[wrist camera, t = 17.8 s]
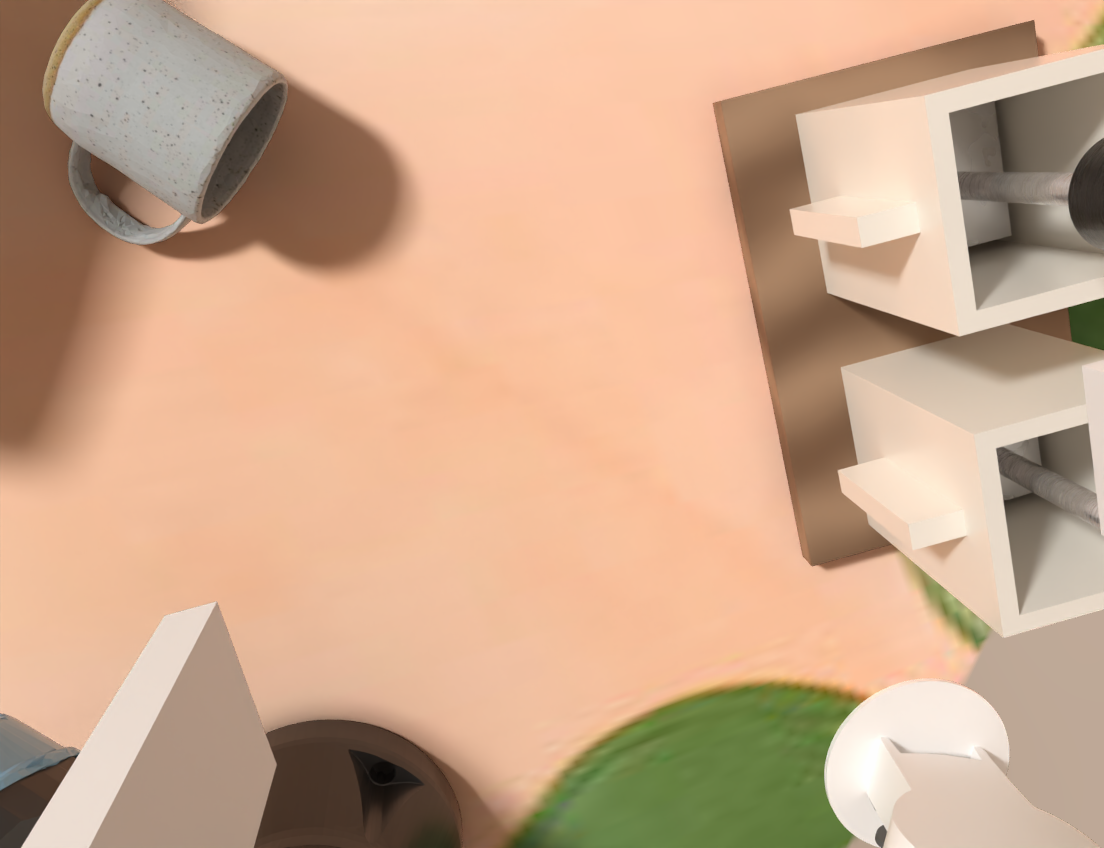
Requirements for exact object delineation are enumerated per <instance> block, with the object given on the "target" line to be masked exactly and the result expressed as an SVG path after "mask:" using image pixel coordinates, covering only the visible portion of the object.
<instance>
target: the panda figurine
mask: <svg viewBox="0 0 1104 848" xmlns="http://www.w3.org/2000/svg"><path fill="white" fill-rule="evenodd" d="M1009 755H1010V750H1009V742H1008V735H1007V732H1006V729H1005V726H1004V724H1003V722H1002V720H1001V718H1000V717H999V715H998V713H997V712H996V711H995V709H994V708H993V707H992V706H991V705H990V704H989V703H988V702H987V701H986V700H985V699H984V698H983V697H982V696H981V695H979V694H978V693H977V692H975V691H974V690H972V689H970V688H968V687H966V686H964V685H962V684H959V683H956V682H953V681H949V680H943V679H933V678H925V679H915V680H909V681H905V682H901V683H898V684H895V685H892V686H890V687H887V688H885V689H883V690H881V691H879V692H877V693H875V694H874V695H872V696H871V697H869V698H868V699H866V700H865V701H864V702H862V703H861V704H860V705H859V706H858V707H857V708H855V709H854V710H853V711H852V712H851V714H850V715H849V716H848V717H847V718H846V719H845V721H844V722H843V723H842V724H841V726H840V728H839V729H838V731H837V732H836V734H835V736H834V738H833V740H832V742H831V745H830V747H829V750H828V754H827V757H826V763H825V772H824V779H825V789H826V793H827V797H828V800H829V802H830V805H831V807H832V809H833V811H834V812H835V814H836V816H837V817H838V819H839V820H840V822H841V823H842V824H843V825H844V826H845V827H846V828H847V829H848V830H849V831H850V832H851V833H852V834H854V835H855V836H856V837H858V838H859V839H861V840H863V841H865V842H867V843H869V844H871V845H874V846H877V847H880V848H1100V847H1099V846H1098V845H1097V844H1096V843H1095V842H1094V841H1092V840H1091V839H1090V838H1089V837H1087V836H1086V835H1085V834H1083V833H1082V832H1081V831H1079V830H1078V829H1076V828H1075V827H1073V826H1072V825H1070V824H1068V823H1067V822H1065V821H1063V820H1062V819H1059V818H1058V817H1056V816H1054V815H1052V814H1050V813H1048V812H1045V811H1043V810H1041V809H1038V808H1036V807H1034V806H1033V805H1032V804H1031V803H1030V802H1029V801H1028V800H1027V799H1026V798H1025V796H1023V794H1022V793H1020V791H1019V790H1018V789H1017V788H1016V787H1015V786H1014V785H1013V784H1012V782H1011V781H1010V780H1009V779H1008V778H1007V777H1006V775H1007V771H1008V766H1009Z"/></svg>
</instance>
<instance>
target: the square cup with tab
mask: <svg viewBox="0 0 1104 848" xmlns="http://www.w3.org/2000/svg"><path fill="white" fill-rule="evenodd" d="M1101 360H1104V351H1103V350H1099V349H1096V348H1092V347H1089V346H1085V345H1082V344H1078V343H1074V342H1071V341H1067V340H1064V339H1060V338H1056V337H1053V336H1049V335H1046V334H1042V333H1038V332H1035V331H1031V330H1028V329H1024V328H1021V327H1017V326H1013V325H1010V324H1004V325H1000V326H996V327H993V328H989V329H985V330H982V331H978V332H974V333H971V334H967V335H963V336H955V337H951V338H947V339H943V340H940V341H936V342H932V343H929V344H925V345H921V346H918V347H914V348H910V349H906V350H903V351H899V352H895V353H892V354H888V355H884V356H881V357H877V358H873V359H869V360H866V361H862V362H858V363H855V364H851V365H847V366H844V367H841V372H842V378H843V383H844V389H845V395H846V400H847V406H848V411H849V417H850V423H851V428H852V434H853V439H854V445H855V450H856V456H857V462H858V465H855V466H851V467H848V468H844V469H840V470H838V475H839V480H840V485H841V491H842V493H843V494H844V495H845V496H847V497H848V498H849V499H850V500H851V501H853V502H854V503H855V504H856V505H858V506H859V507H860V508H861V509H862V510H864V511H865V512H866V513H867V518H868V523H869V525H870V526H871V527H872V528H874V529H875V530H876V531H877V532H878V533H879V534H881V535H882V536H883V537H884V538H885V539H887V540H888V541H889V542H890V543H891V544H893V545H894V546H895V547H896V548H897V549H899V550H900V551H901V552H902V553H903V554H904V555H906V556H907V557H908V558H909V559H910V560H912V561H913V562H914V563H915V564H916V565H918V566H919V567H920V568H921V569H922V570H923V571H925V572H926V573H927V574H928V575H929V576H931V577H932V578H933V579H934V580H935V581H937V582H938V583H939V584H940V585H941V586H942V587H944V588H945V589H946V590H947V591H948V592H950V593H951V594H952V595H953V596H954V597H956V598H957V599H958V600H959V601H960V602H962V603H963V604H964V605H965V606H966V607H967V608H969V609H970V610H971V611H972V612H973V613H975V614H976V615H977V616H978V617H979V618H981V619H982V620H983V621H984V622H985V623H986V624H988V625H989V626H990V627H991V628H992V629H994V630H995V631H996V632H997V633H998V634H1000V635H1001V636H1002V637H1003V638H1005V637H1008V636H1012V635H1015V634H1019V633H1023V632H1026V631H1030V630H1033V629H1037V628H1040V627H1044V626H1047V625H1051V624H1054V623H1058V622H1062V621H1065V620H1068V619H1072V618H1076V617H1079V616H1083V615H1086V614H1090V613H1093V612H1097V611H1100V610H1104V536H1103V535H1101V530H1100V529H1098V528H1096V527H1094V526H1093V525H1091V524H1089V523H1087V522H1085V521H1084V520H1082V519H1080V518H1078V517H1076V516H1075V515H1073V514H1071V513H1069V512H1067V511H1066V510H1064V509H1062V508H1060V507H1058V506H1056V505H1055V504H1053V503H1051V502H1049V501H1047V500H1046V499H1044V498H1042V497H1040V496H1038V495H1037V494H1035V493H1029V494H1026V495H1022V496H1018V497H1015V498H1011V499H1008V500H1004V501H1003V495H1002V488H1001V481H1000V473H999V466H998V459H997V452H996V448H999V447H1002V446H1006V445H1010V444H1013V443H1017V442H1021V441H1024V440H1028V439H1031V438H1035V437H1038V442H1039V450H1040V457H1041V465H1042V466H1043V467H1045V468H1047V469H1049V470H1051V471H1053V472H1055V473H1057V474H1059V475H1061V476H1063V477H1065V478H1067V479H1069V480H1071V481H1073V482H1075V483H1077V484H1079V485H1081V486H1083V487H1085V488H1087V489H1089V490H1091V491H1093V492H1095V493H1096V485H1095V477H1094V468H1093V459H1092V451H1091V442H1090V433H1089V425H1088V416H1087V407H1086V399H1085V390H1084V381H1083V373H1082V365H1086V364H1090V363H1093V362H1097V361H1101Z"/></svg>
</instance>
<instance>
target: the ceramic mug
mask: <svg viewBox="0 0 1104 848" xmlns="http://www.w3.org/2000/svg"><path fill="white" fill-rule="evenodd" d="M287 92H288V83H287V80H286V79H285V77H284V76H283V75H282V74H280V73H279V72H277V71H276V70H274V69H273V68H271V67H269V66H268V65H266V64H264V63H262V62H261V61H259V60H258V59H256V58H254V57H253V56H251V55H250V54H248V53H247V52H245V51H243V50H242V49H240V48H239V47H237V46H235V45H234V44H232V43H231V42H229V41H227V40H226V39H224V38H223V37H221V36H219V35H218V34H216V33H214V32H212V31H211V30H209V29H207V28H206V27H204V26H202V25H201V24H199V23H198V22H196V21H195V20H193V19H191V18H190V17H188V16H187V15H185V14H183V13H182V12H180V11H179V10H177V9H176V8H174V7H172V6H171V5H169V4H168V3H166V2H165V1H163V0H88V1H87V2H86V3H85V4H84V5H83V6H82V7H81V8H80V9H79V10H78V11H77V12H76V13H75V15H74V16H73V17H72V18H71V20H70V21H69V23H68V24H67V26H66V27H65V29H64V30H63V32H62V33H61V35H60V37H59V39H58V40H57V43H56V45H55V47H54V49H53V51H52V54H51V56H50V60H49V62H48V65H47V68H46V71H45V74H44V80H43V89H42V93H43V100H44V106H45V110H46V112H47V114H48V116H49V117H50V119H51V120H52V121H53V122H54V123H55V124H56V125H57V126H58V127H59V128H60V129H61V130H62V131H63V132H64V133H65V134H66V135H67V136H68V137H70V138H71V139H72V140H73V142H72V146H71V149H70V151H69V159H68V177H69V182H70V186H71V188H72V190H73V193H74V195H75V197H76V199H77V200H78V202H79V204H80V206H81V207H82V209H83V210H84V211H85V212H86V213H87V214H88V215H89V217H91V218H92V219H93V220H94V221H95V222H96V223H97V224H98V225H99V226H100V227H102V228H103V229H104V230H106V231H107V232H109V233H110V234H112V235H114V236H115V237H117V238H119V239H121V240H123V241H126V242H129V243H132V244H138V245H148V244H153V243H157V242H161V241H164V240H167V239H168V238H170V237H172V236H174V235H175V234H176V233H178V232H179V231H180V230H181V229H182V228H183V227H185V226H186V225H187V224H188V223H189V222H190V221H191V220H192V221H194V222H196V223H199V224H203V223H206V222H207V221H209V220H211V219H212V218H213V217H215V216H216V215H217V214H218V213H220V212H221V211H222V209H223V208H224V207H225V206H226V205H227V204H228V203H229V202H230V201H231V199H232V198H233V197H234V196H235V194H236V193H237V192H238V191H239V189H240V188H241V187H242V185H243V184H244V183H245V181H246V179H247V178H248V176H249V174H250V173H251V171H252V170H253V168H254V167H255V165H256V164H257V163H258V161H259V159H260V158H261V156H262V154H263V152H264V150H265V149H266V147H267V145H268V143H269V141H270V140H271V138H272V135H273V133H274V131H275V130H276V127H277V125H278V122H279V120H280V118H281V115H282V113H283V110H284V107H285V104H286V101H287ZM91 153H92V154H93V155H95V156H96V157H98V158H100V159H101V160H103V161H105V162H106V163H108V164H110V165H111V166H113V167H114V168H116V169H117V170H119V171H120V172H122V173H123V174H124V175H126V176H127V177H129V178H130V179H132V180H133V181H134V182H136V183H137V184H139V185H140V186H142V187H143V188H145V189H146V190H148V191H149V192H151V193H152V194H153V195H155V196H156V197H158V198H159V199H161V200H162V201H164V202H165V203H167V204H168V205H169V206H171V207H172V208H174V209H175V210H177V211H178V212H179V213H181V214H182V215H181V216H180V218H179V219H178V220H177V221H176V222H175V223H173V224H172V225H170V226H167V227H164V228H152V227H150V226H148V225H143V224H141V223H140V222H138V221H136V220H135V219H134V218H132V217H131V216H130V215H128V214H127V213H125V212H124V211H123V210H121V209H120V208H119V207H117V206H116V205H115V204H114V203H112V202H111V200H110V199H109V197H108V196H106V195H104V194H102V193H100V192H99V190H98V188H97V186H96V184H95V182H94V179H93V176H92V172H91V164H90V163H91V156H90V155H91Z"/></svg>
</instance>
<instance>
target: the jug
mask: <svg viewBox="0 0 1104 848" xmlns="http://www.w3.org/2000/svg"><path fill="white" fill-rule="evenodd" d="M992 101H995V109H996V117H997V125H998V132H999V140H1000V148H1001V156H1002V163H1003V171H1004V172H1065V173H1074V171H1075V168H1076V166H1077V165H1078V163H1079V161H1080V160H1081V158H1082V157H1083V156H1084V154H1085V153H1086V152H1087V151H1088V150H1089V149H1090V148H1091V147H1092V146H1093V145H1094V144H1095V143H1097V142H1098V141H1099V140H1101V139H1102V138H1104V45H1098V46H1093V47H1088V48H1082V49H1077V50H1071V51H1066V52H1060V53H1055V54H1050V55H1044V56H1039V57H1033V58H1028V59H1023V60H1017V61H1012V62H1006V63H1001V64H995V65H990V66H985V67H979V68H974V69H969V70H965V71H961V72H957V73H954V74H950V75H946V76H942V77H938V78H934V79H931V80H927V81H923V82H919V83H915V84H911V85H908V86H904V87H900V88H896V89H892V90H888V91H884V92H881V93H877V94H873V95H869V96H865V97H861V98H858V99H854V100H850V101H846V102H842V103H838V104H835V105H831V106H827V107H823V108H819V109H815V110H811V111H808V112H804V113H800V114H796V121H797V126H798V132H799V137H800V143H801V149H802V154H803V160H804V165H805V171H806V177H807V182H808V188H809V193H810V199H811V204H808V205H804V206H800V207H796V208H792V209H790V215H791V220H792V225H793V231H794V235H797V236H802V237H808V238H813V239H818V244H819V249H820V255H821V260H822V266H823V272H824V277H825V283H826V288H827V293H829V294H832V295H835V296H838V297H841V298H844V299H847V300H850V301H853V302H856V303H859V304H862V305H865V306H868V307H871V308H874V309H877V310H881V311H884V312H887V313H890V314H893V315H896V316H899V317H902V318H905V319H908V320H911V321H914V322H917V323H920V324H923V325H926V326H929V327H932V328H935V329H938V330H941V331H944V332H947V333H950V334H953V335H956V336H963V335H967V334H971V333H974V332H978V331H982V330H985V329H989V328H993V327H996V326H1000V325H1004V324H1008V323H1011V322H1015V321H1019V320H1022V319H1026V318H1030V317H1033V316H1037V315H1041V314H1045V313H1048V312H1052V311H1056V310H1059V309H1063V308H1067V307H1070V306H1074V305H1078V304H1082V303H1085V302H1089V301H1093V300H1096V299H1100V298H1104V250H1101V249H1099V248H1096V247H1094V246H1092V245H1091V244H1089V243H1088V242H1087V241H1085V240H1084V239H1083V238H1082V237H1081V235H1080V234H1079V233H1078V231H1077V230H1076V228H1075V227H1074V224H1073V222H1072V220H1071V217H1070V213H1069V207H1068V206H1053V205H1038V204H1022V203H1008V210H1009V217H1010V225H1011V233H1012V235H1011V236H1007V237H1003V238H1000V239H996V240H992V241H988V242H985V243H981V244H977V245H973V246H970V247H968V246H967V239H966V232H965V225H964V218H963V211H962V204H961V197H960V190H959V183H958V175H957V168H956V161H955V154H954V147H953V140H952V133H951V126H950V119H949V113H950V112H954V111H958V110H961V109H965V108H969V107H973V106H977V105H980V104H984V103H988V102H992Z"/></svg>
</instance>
